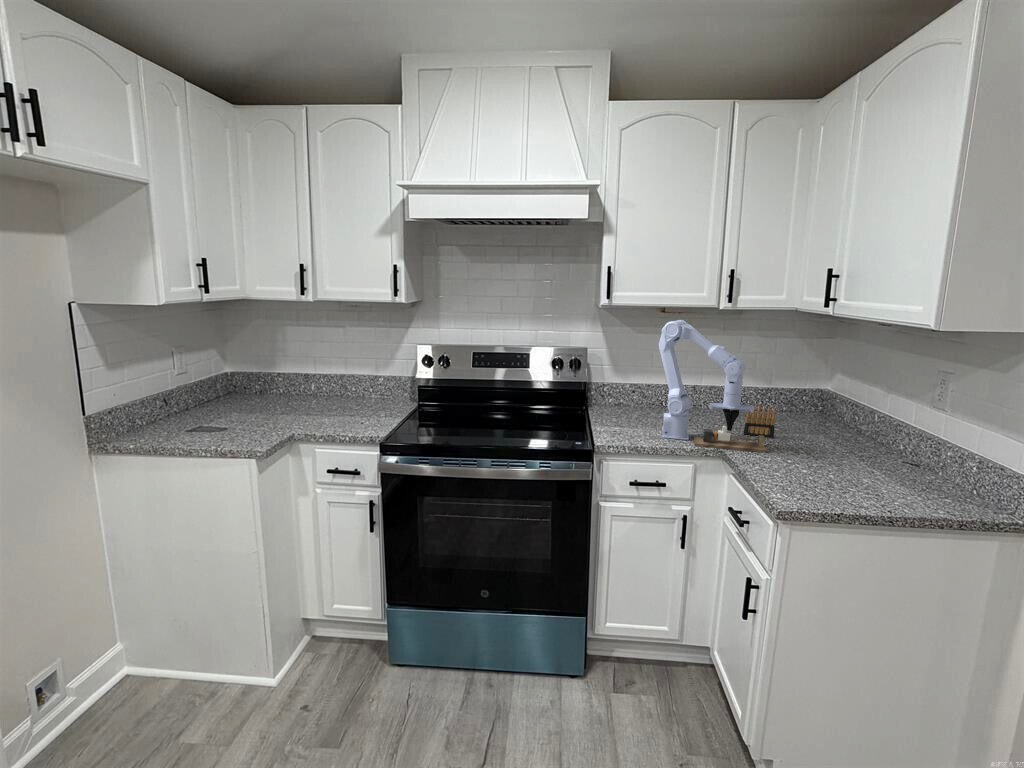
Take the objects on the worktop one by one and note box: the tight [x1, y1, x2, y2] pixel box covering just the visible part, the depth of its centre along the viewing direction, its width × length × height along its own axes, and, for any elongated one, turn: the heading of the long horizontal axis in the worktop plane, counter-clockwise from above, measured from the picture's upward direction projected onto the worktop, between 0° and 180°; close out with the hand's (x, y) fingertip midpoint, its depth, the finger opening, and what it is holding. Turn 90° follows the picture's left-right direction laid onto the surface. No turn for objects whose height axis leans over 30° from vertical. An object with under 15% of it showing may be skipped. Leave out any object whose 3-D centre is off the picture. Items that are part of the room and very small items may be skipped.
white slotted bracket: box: [717, 425, 731, 441], centre depth 200 cm, size 4×3×5 cm
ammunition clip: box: [743, 404, 776, 439], centre depth 212 cm, size 11×2×12 cm, turn 70°
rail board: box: [693, 428, 768, 454], centre depth 200 cm, size 24×9×5 cm, turn 74°
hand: (729, 430), depth 199 cm, fingers closed
